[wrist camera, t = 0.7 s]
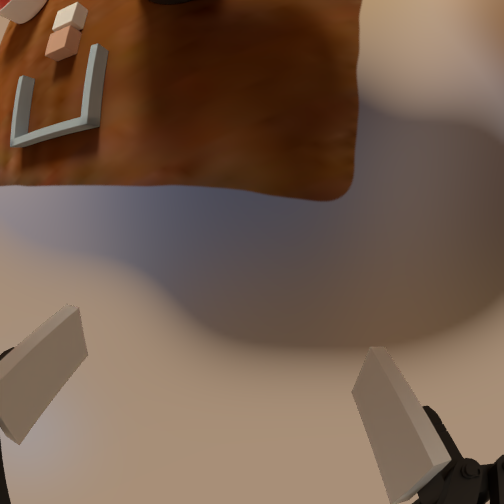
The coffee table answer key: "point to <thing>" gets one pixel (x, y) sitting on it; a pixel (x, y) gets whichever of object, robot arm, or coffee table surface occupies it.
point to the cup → (20, 9)
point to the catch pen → (86, 121)
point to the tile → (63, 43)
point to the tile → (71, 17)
